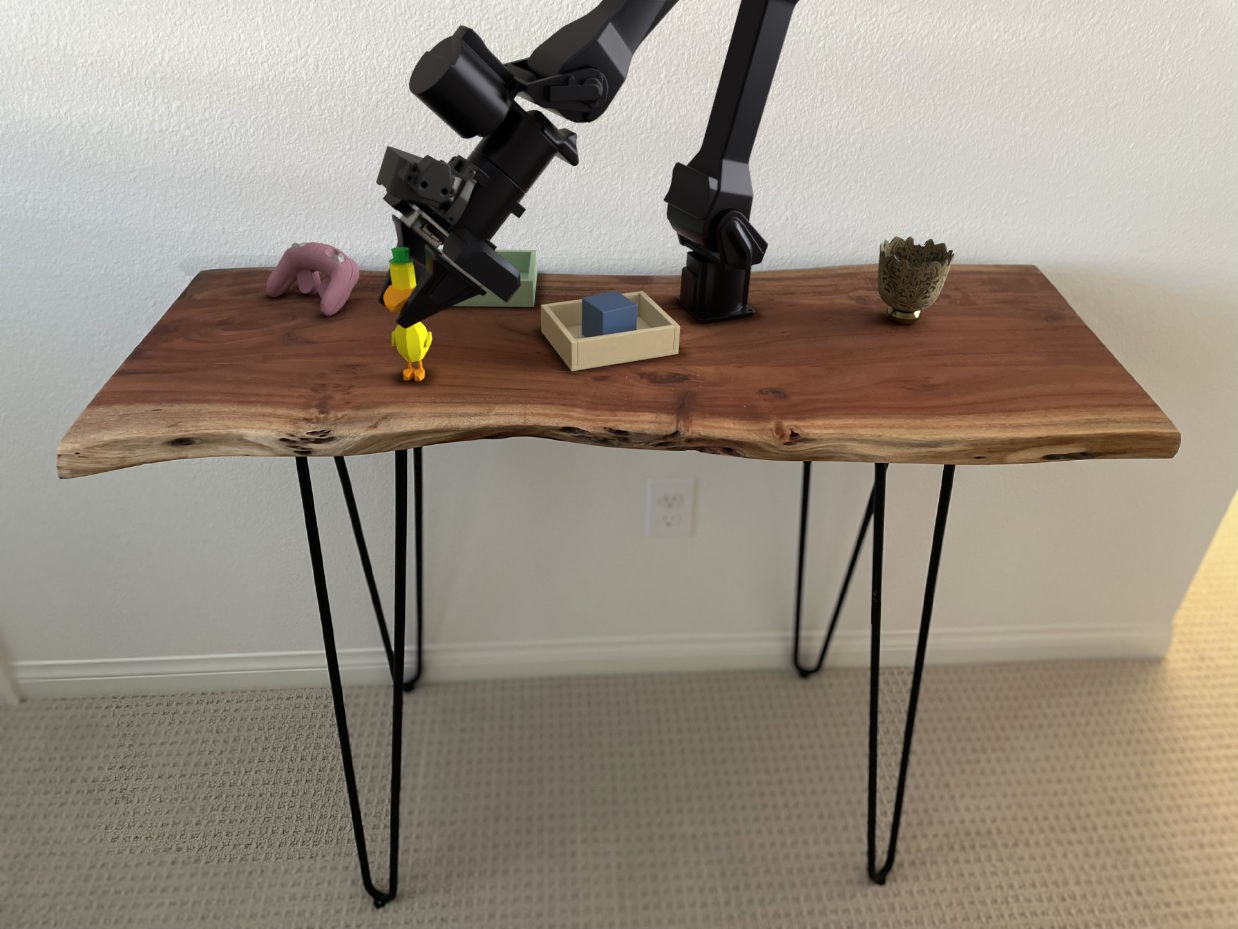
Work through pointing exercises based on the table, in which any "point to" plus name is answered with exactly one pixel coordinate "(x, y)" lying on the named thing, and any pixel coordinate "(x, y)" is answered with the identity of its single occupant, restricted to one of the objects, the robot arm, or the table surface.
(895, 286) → the cup
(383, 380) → the table surface
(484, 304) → the green tray
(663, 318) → the beige tray
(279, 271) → the video game controller
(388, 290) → the toy figure
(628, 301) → the slate block
